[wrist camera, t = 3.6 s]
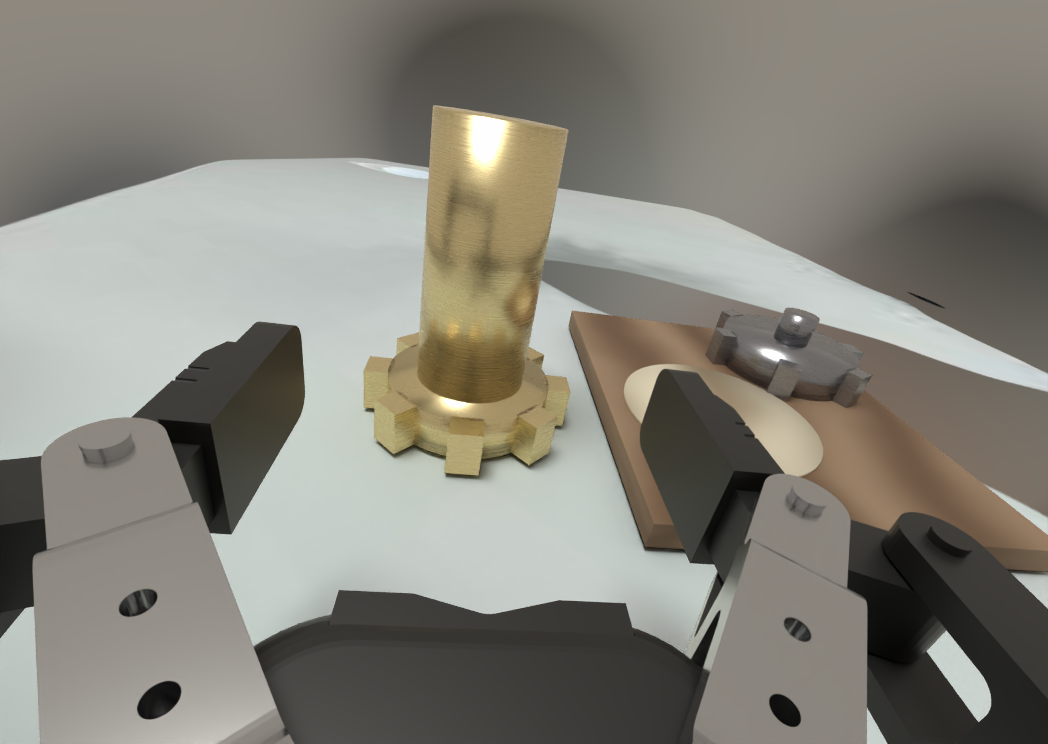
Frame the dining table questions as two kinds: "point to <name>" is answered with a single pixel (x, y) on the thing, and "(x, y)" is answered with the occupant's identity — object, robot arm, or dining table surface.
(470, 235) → the cylinder
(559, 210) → the dining table surface
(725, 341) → the gear
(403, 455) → the dining table surface
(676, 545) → the gear board
